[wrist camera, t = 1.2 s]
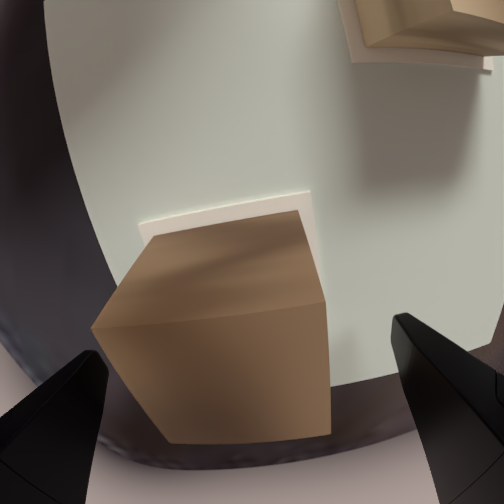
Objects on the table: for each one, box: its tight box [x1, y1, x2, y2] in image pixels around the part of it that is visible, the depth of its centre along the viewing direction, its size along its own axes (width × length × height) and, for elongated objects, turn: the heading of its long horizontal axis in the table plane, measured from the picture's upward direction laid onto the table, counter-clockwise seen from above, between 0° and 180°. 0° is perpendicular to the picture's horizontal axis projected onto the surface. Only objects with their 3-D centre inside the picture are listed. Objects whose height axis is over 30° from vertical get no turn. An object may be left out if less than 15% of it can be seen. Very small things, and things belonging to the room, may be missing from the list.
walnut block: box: [91, 210, 331, 444], centre depth 9 cm, size 5×5×5 cm
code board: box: [44, 0, 504, 387], centre depth 10 cm, size 18×20×1 cm
